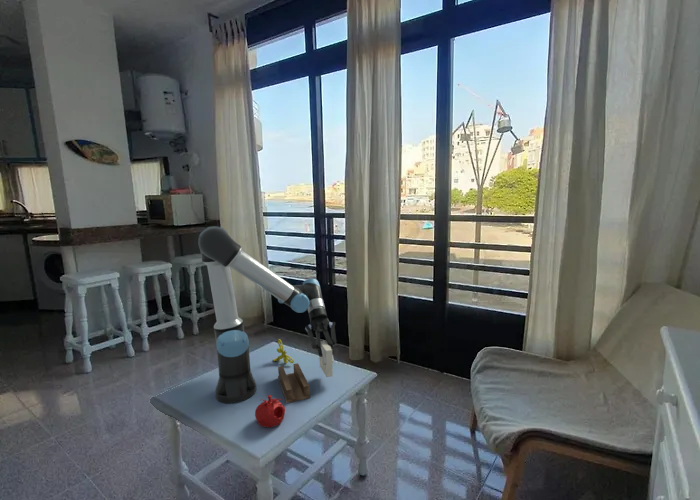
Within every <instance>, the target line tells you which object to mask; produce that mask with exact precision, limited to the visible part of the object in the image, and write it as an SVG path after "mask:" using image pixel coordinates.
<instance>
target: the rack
mask: <svg viewBox="0 0 700 500" xmlns="http://www.w3.org/2000/svg"><path fill="white" fill-rule="evenodd" d="M292 364H293V372H292V373H286V370H285V368H284V366H283V365H281V366H278V367H277V370H278V371H277V372H278V375H277V379H278V382H279V385H280V388H281V390H282V394H283V395H284V399H285V402H286V404H288V403H293V402H298V401H302V400H307V399H311V394H310V393H311V392H310V385H309V382H308V380H307V379H306V376H305V374H304V373H303V370H302V368H301V366H300V365H299V363H298V362H297V363H292Z"/></svg>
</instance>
